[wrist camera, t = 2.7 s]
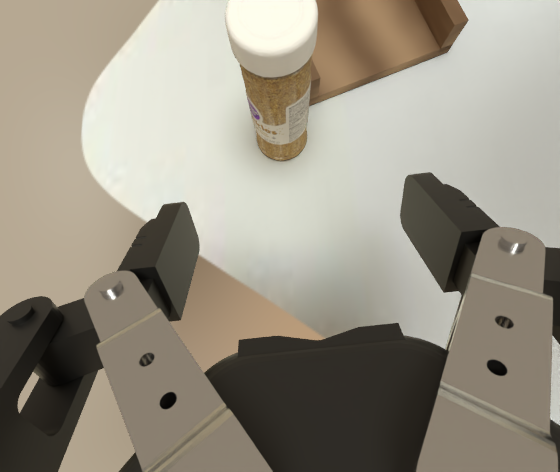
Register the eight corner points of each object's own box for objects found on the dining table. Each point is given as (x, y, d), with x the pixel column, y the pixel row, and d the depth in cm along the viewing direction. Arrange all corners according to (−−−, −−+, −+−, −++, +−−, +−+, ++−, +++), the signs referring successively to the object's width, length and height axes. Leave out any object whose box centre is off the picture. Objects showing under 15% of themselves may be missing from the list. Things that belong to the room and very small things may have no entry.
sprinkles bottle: (247, 140, 28) (203, 12, 15) (281, 105, 28) (268, -50, 15) (283, 172, 27) (272, 70, 14) (318, 136, 28) (339, 3, 14)
